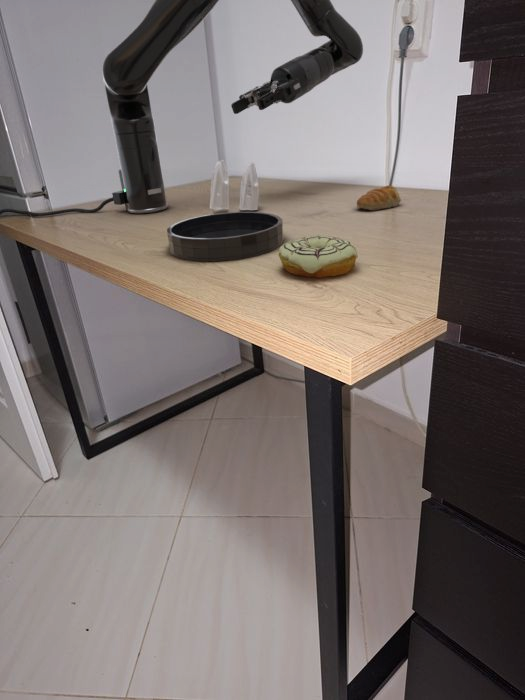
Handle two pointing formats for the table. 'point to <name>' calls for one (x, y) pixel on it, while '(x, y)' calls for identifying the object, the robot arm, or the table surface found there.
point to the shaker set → (221, 189)
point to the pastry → (379, 198)
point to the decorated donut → (318, 256)
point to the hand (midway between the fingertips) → (245, 107)
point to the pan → (225, 236)
